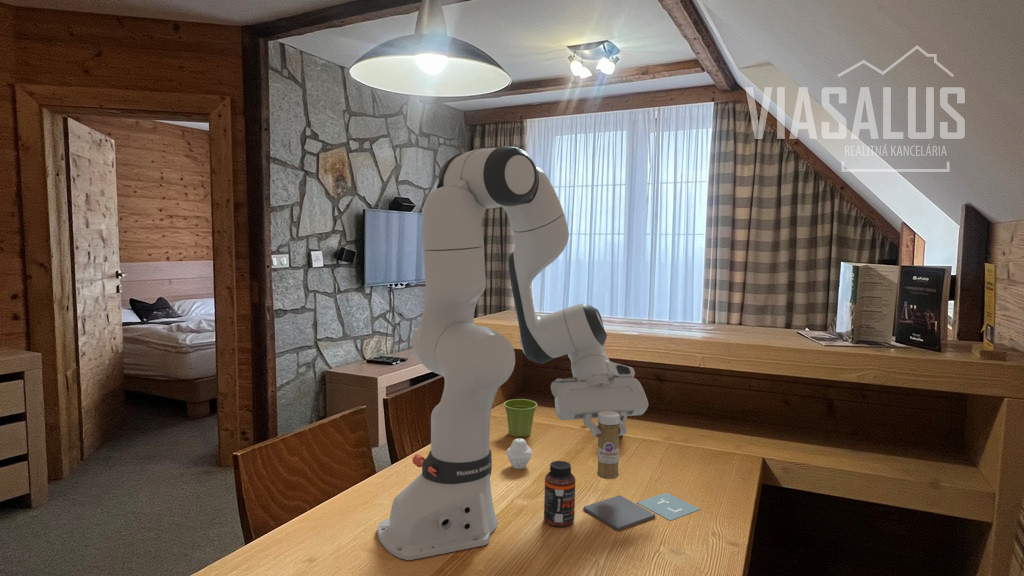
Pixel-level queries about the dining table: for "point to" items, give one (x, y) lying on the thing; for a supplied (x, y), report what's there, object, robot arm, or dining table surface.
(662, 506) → the tile
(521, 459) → the white rounded piece
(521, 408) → the plant pot
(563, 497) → the supplement bottle
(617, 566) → the dining table surface
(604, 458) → the sprinkles bottle
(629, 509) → the slate coaster
